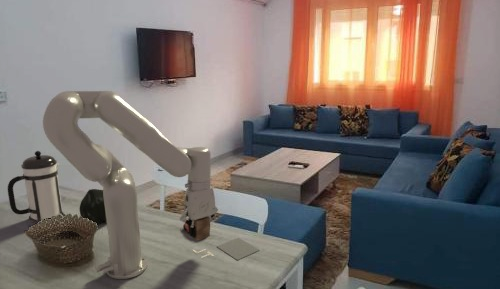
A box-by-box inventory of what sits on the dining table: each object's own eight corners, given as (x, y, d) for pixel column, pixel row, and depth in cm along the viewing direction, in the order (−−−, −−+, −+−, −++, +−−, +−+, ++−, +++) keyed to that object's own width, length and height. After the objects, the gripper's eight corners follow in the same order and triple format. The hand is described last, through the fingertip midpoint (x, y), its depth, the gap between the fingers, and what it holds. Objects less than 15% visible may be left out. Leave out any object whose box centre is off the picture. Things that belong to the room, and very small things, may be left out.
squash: (128, 201, 162) (102, 177, 159) (115, 216, 148) (87, 190, 145) (106, 220, 165) (81, 197, 162) (92, 237, 150) (64, 212, 147)
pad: (237, 260, 124) (237, 259, 123) (216, 247, 132) (216, 246, 132) (259, 250, 130) (259, 249, 130) (238, 238, 139) (238, 237, 139)
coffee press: (38, 211, 165) (28, 146, 158) (73, 211, 165) (64, 146, 158) (12, 228, 149) (0, 157, 142) (51, 228, 148) (40, 157, 141)
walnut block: (197, 240, 123) (197, 221, 122) (189, 235, 127) (189, 216, 126) (209, 236, 127) (209, 217, 125) (201, 231, 130) (201, 212, 129)
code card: (201, 264, 121) (201, 264, 121) (182, 250, 130) (182, 250, 130) (223, 255, 127) (223, 254, 127) (204, 242, 136) (204, 242, 136)
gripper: (182, 192, 115) (183, 245, 119) (226, 182, 125) (225, 231, 129) (170, 186, 120) (172, 237, 124) (213, 176, 131) (213, 224, 135)
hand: (199, 233), depth 127 cm, fingers closed on walnut block, 5 cm apart
